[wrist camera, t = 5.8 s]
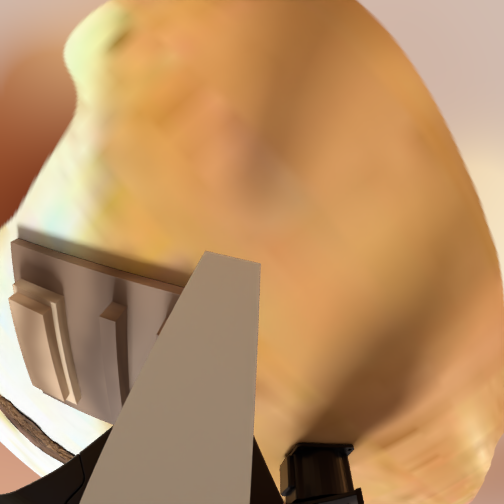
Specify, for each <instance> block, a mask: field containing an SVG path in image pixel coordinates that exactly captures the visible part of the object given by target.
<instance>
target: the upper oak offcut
mask: <svg viewBox="0 0 504 504" xmlns="http://www.w3.org/2000/svg"><path fill="white" fill-rule="evenodd" d="M8 299H9V304H10V309H11V314H12V318H13V322H14V326H15V330H16V334H17V338H18V342H19V345H20V349H21V352H22V355H23V358H24V361H25V365H26V368H27V370H28V373H29V376H30V379H31V382H32V384H33V386H35V387H37V388H39V389H41V390H42V391H44V392H46V393H48V394H50V395H52V396H54V397H56V398H58V399H60V400H62V401H64V402H65V400H66V399H67V397H68V396H69V394H70V393H69V389H68V385H67V382H66V378H65V374H64V370H63V366H62V362H61V357H60V353H59V348H58V343H57V338H56V333H55V327H54V321H53V314H52V307H50V306H47V305H45V304H43V303H40V302H38V301H36V300H34V299H32V298H29V297H27V296H25V295H23V294H21V293H19V292H16V293H15V294H13V295H12V296H11V297H10V298H8Z"/></svg>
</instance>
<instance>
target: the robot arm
mask: <svg viewBox="0 0 504 504" xmlns="http://www.w3.org/2000/svg"><path fill="white" fill-rule="evenodd" d="M112 428H113V426H112V427H111V428H110V429H109V430H107V431H106V432H105V433H104V434H102V435H101V436H100V437H99V438H97V439H96V440H95V441H94V442H92V443H91V444H90V445H89V446H87V447H86V448H85V449H84V450H82V451H81V452H80V453H79V454H80V455H79V454H77V455H76V456H74V457H73V458H72V459H71V460H69V461H68V462H66V463H65V464H64V465H62V466H61V467H59V468H58V469H56V470H54V471H53V472H51V473H49V474H48V475H46V476H44V477H42V478H40V479H38V480H37V481H34V482H32V483H30V484H29V485H26V486H24V487H22V488H20V489H18V490H16V491H13V492H10V493H6V494H0V504H79V503H80V501H81V499H82V496H83V494H84V491H85V489H86V487H87V484H88V482H89V480H90V477H91V475H92V473H93V470H94V468H95V466H96V464H97V461H98V459H99V457H100V455H101V452H102V450H103V448H104V446H105V444H106V441H107V439H108V437H109V435H110V433H111V431H112ZM353 450H354V446H353V445H335V444H309V443H299V444H297V445H296V446H295V447H294V449H293V450H292V452H291V453H290V454H289V455H288V456H287V457H286V458H285V460H284V461H283V463H282V464H281V465H280V493H279V491H278V489H277V487H276V484H275V482H274V480H273V478H272V476H271V474H270V471H269V469H268V467H267V465H266V463H265V460H264V458H263V456H262V453H261V451H260V449H259V447H258V444H257V442H256V440H255V437H254V435H253V451H252V470H251V488H250V504H283V503H284V501H283V499H282V497H281V495H282V496H286V504H364V501H363V496H362V491H361V488H357V489H356V490H354V487H353V481H352V476H351V471H350V466H349V461H348V455H349V454H350V453H351V452H352V451H353ZM280 494H281V495H280Z"/></svg>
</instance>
